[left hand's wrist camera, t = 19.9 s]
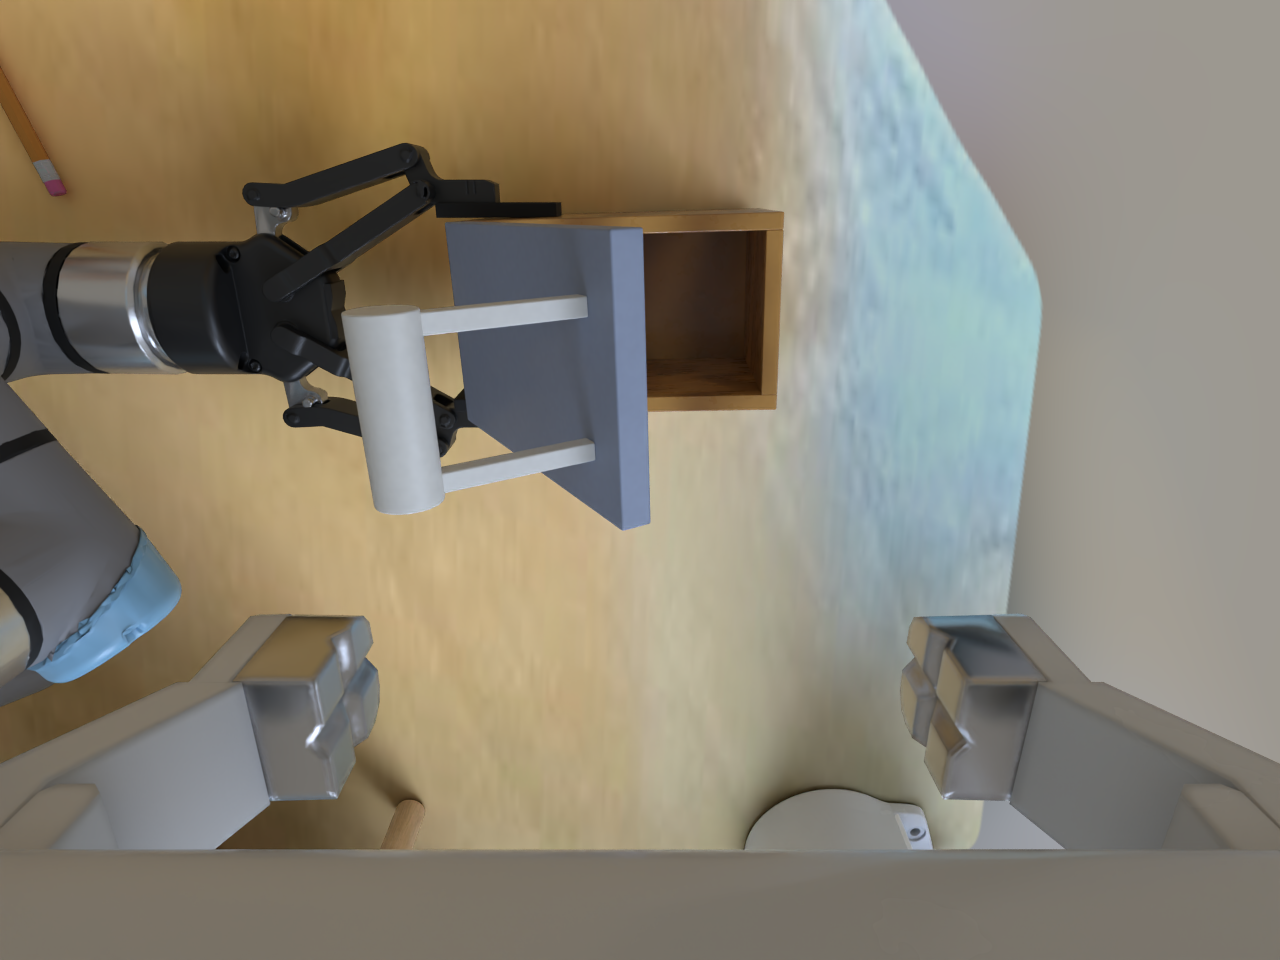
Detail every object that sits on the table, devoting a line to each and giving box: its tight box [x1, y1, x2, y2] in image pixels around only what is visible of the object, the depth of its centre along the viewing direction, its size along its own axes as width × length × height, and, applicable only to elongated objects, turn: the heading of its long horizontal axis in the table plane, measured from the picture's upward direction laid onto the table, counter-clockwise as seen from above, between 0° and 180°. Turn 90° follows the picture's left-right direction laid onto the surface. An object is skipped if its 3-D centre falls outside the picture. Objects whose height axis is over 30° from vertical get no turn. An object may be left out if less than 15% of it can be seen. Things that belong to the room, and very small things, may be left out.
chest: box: [461, 209, 784, 412], centre depth 43 cm, size 16×10×11 cm, turn 92°
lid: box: [341, 221, 650, 530], centre depth 29 cm, size 17×10×9 cm
